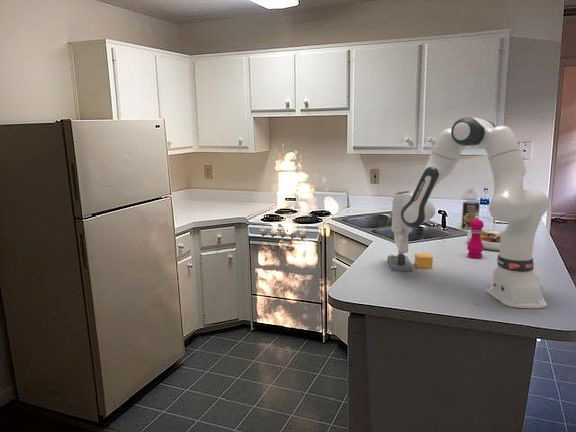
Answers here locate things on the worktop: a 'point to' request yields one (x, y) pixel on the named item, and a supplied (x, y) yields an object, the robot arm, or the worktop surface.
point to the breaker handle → (400, 259)
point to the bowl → (489, 239)
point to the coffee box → (469, 214)
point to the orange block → (423, 260)
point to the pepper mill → (475, 239)
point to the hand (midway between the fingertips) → (400, 257)
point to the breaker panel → (399, 267)
